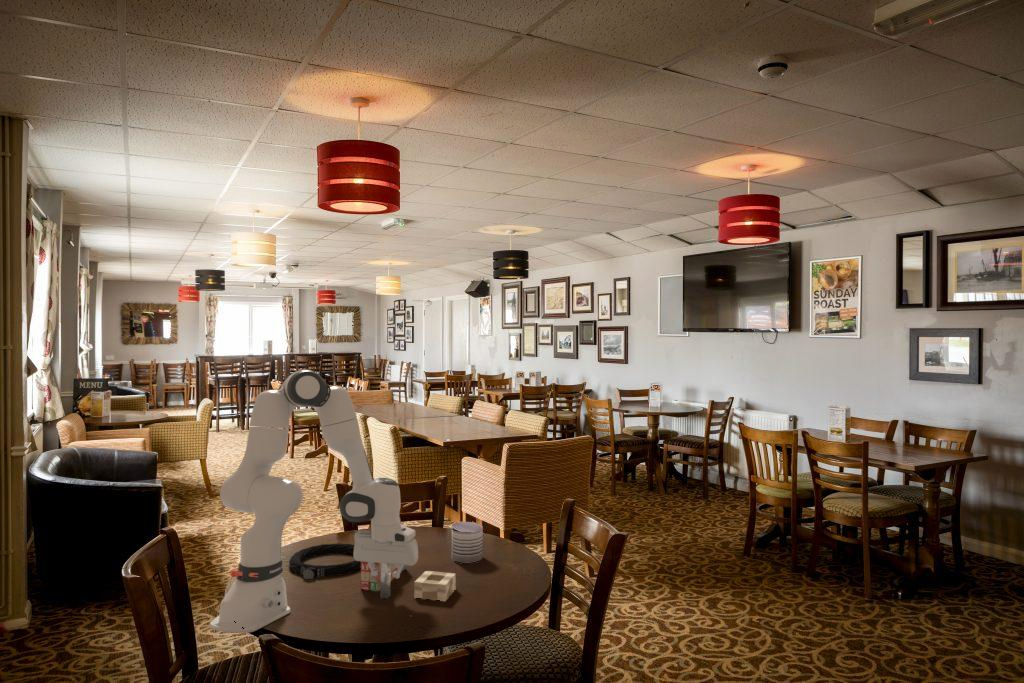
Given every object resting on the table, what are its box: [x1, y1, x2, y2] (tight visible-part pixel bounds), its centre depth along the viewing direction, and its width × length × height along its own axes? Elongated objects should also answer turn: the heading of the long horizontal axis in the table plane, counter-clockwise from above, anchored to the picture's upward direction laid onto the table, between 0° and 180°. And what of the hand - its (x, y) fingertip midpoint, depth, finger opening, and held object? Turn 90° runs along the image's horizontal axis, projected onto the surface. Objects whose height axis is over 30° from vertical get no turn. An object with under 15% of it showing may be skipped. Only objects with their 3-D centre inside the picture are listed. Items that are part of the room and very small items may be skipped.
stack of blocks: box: [360, 561, 407, 592], centre depth 218 cm, size 21×6×12 cm, turn 166°
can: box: [451, 521, 484, 563], centre depth 239 cm, size 11×11×12 cm
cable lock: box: [288, 542, 361, 580], centre depth 232 cm, size 28×4×30 cm
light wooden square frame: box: [413, 570, 457, 602], centre depth 206 cm, size 10×10×5 cm
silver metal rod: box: [379, 563, 392, 599], centre depth 203 cm, size 3×3×14 cm
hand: (385, 576), depth 203 cm, fingers open, 6 cm apart
